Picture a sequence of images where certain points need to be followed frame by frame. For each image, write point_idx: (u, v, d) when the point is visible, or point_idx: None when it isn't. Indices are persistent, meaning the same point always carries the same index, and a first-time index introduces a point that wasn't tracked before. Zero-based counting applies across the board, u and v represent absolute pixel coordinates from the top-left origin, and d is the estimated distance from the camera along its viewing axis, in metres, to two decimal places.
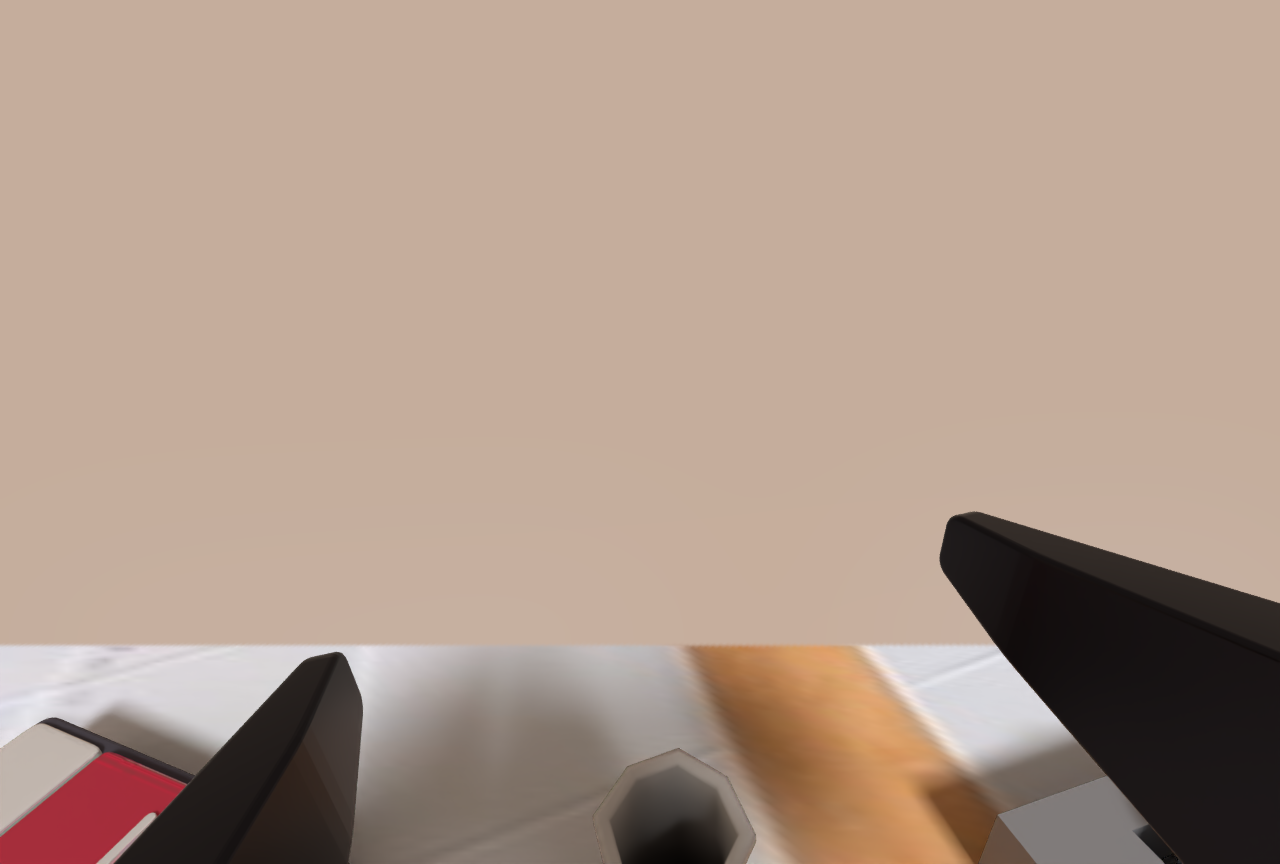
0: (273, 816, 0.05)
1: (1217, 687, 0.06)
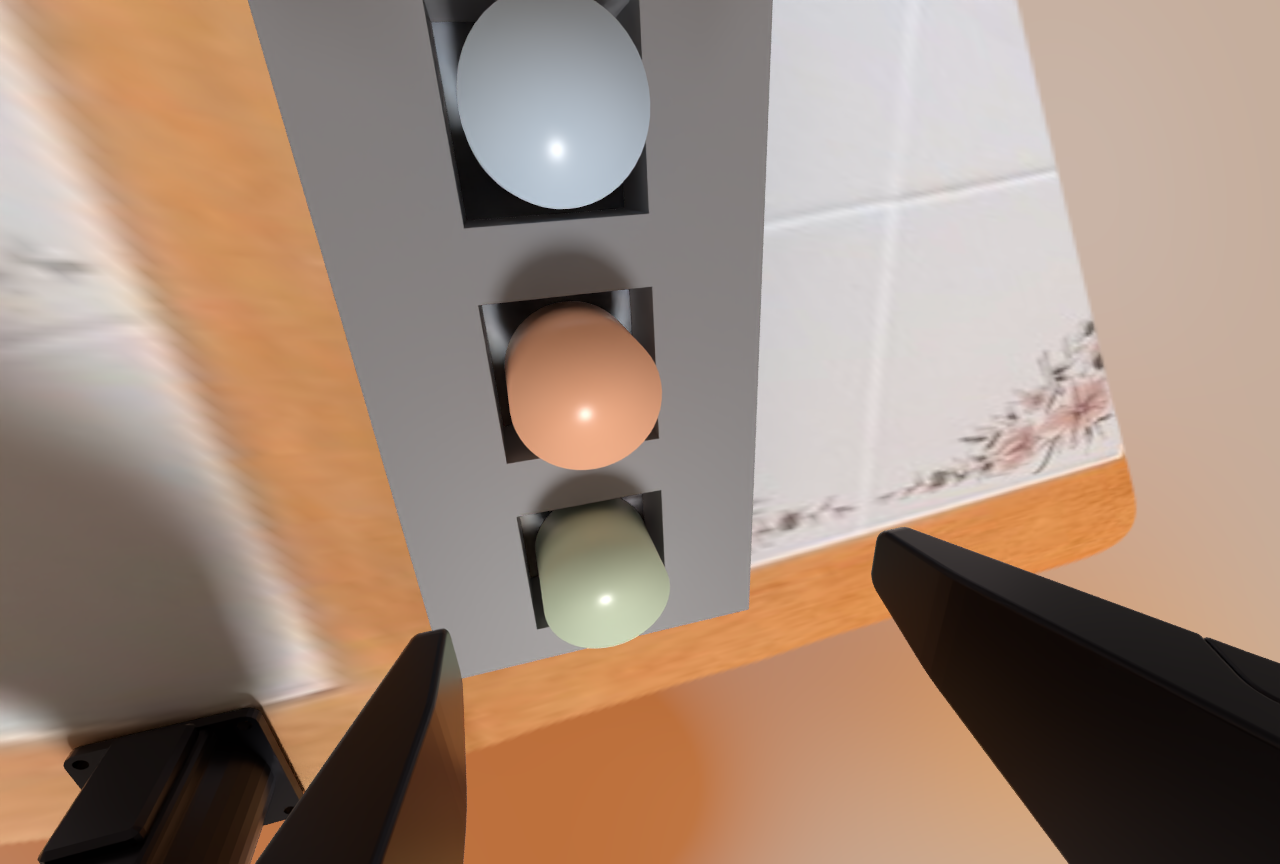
0: (422, 777, 0.05)
1: (1120, 719, 0.05)
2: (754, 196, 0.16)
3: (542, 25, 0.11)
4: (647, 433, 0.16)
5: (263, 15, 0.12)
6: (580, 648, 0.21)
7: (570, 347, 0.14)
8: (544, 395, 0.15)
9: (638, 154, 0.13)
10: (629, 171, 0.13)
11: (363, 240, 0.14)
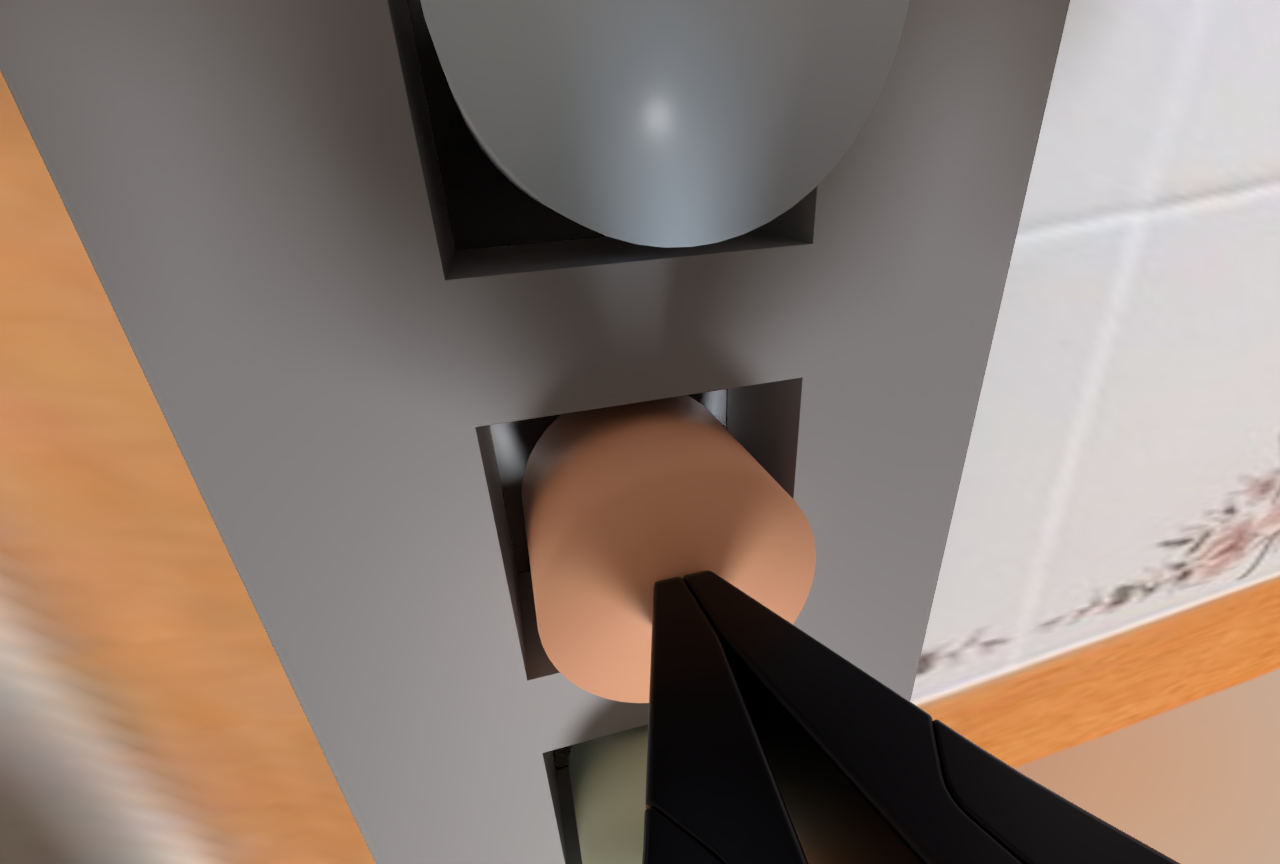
0: (735, 691, 0.06)
1: (833, 814, 0.05)
2: (1004, 208, 0.08)
3: None
4: None
5: None
6: None
7: (657, 509, 0.07)
8: (605, 594, 0.08)
9: (864, 114, 0.05)
10: (834, 156, 0.06)
11: (223, 310, 0.06)
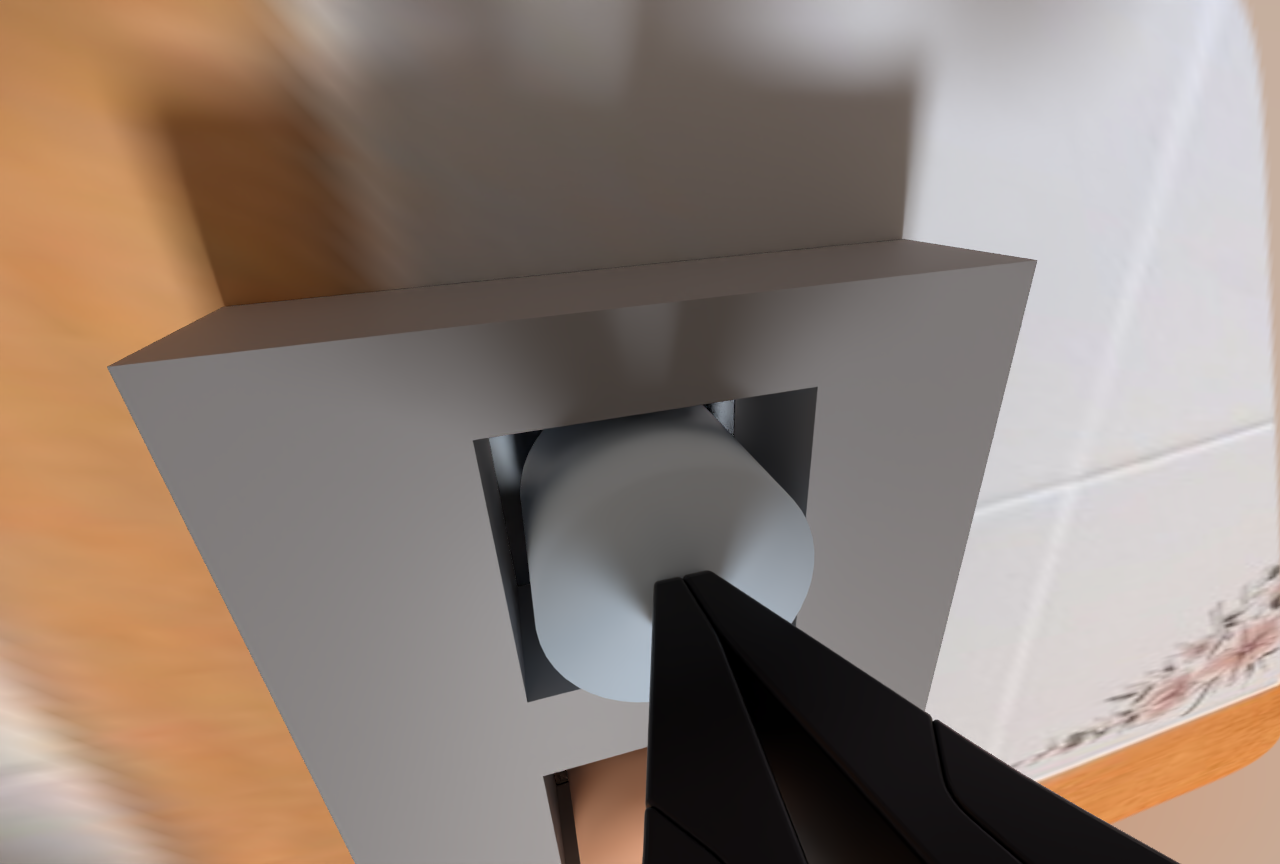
0: (735, 691, 0.06)
1: (833, 814, 0.05)
2: (941, 588, 0.11)
3: (670, 515, 0.07)
4: None
5: (203, 516, 0.07)
6: None
7: None
8: (627, 845, 0.11)
9: None
10: None
11: (374, 745, 0.09)
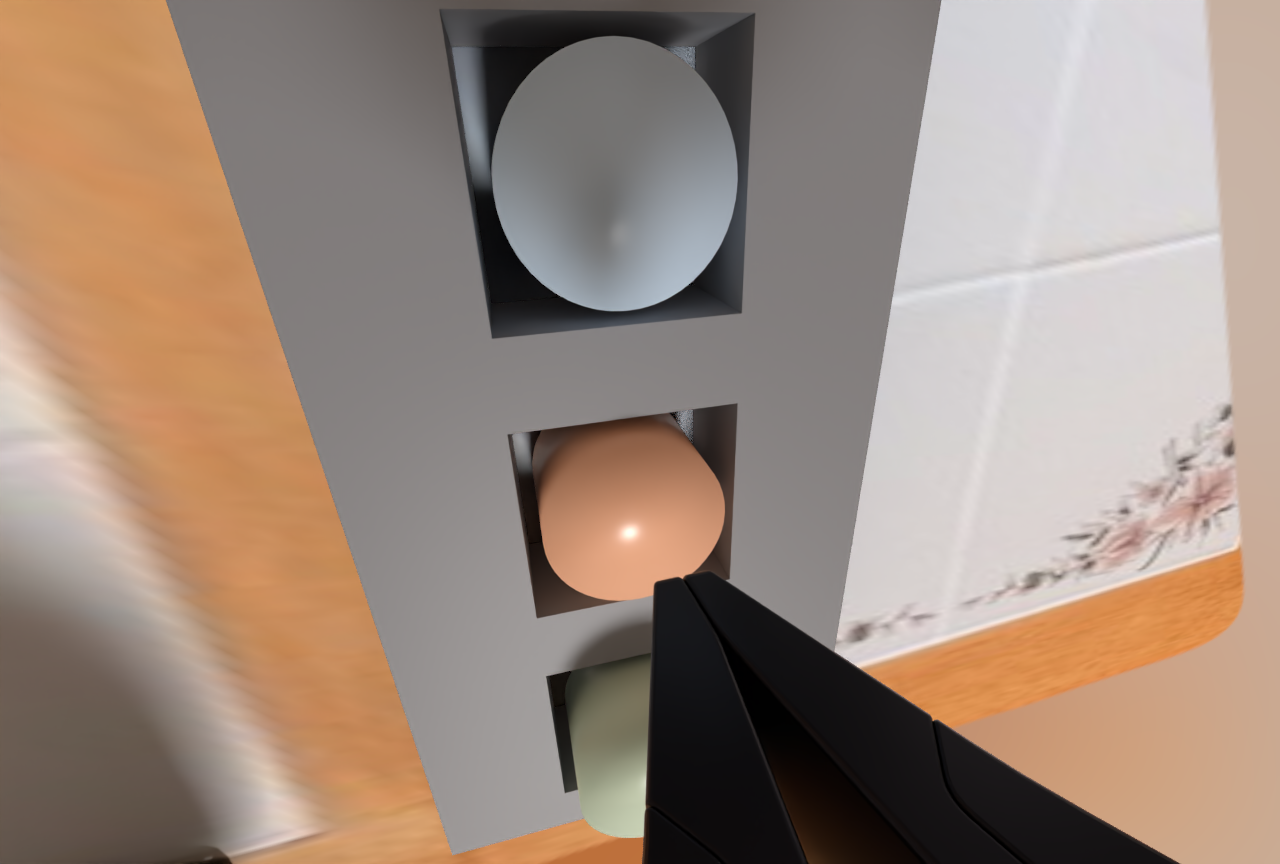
0: (735, 693, 0.06)
1: (833, 814, 0.05)
2: (880, 288, 0.12)
3: (608, 88, 0.09)
4: (703, 556, 0.13)
5: (199, 47, 0.08)
6: None
7: (619, 468, 0.12)
8: (585, 522, 0.12)
9: (717, 244, 0.10)
10: (704, 264, 0.10)
11: (350, 358, 0.10)
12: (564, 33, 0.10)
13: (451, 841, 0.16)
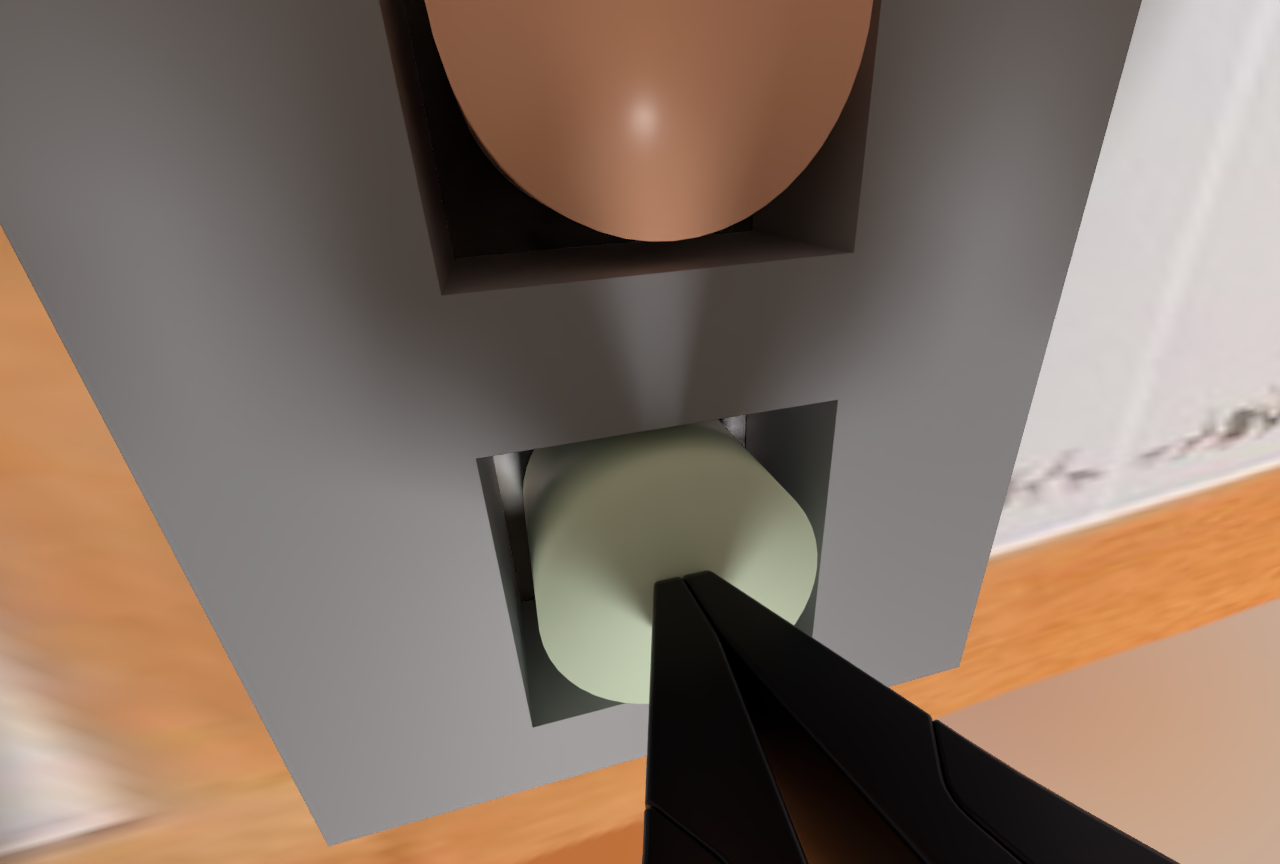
0: (734, 691, 0.06)
1: (833, 814, 0.05)
2: None
3: None
4: (812, 149, 0.06)
5: None
6: (626, 758, 0.10)
7: None
8: None
9: None
10: None
11: None
12: None
13: (321, 820, 0.09)
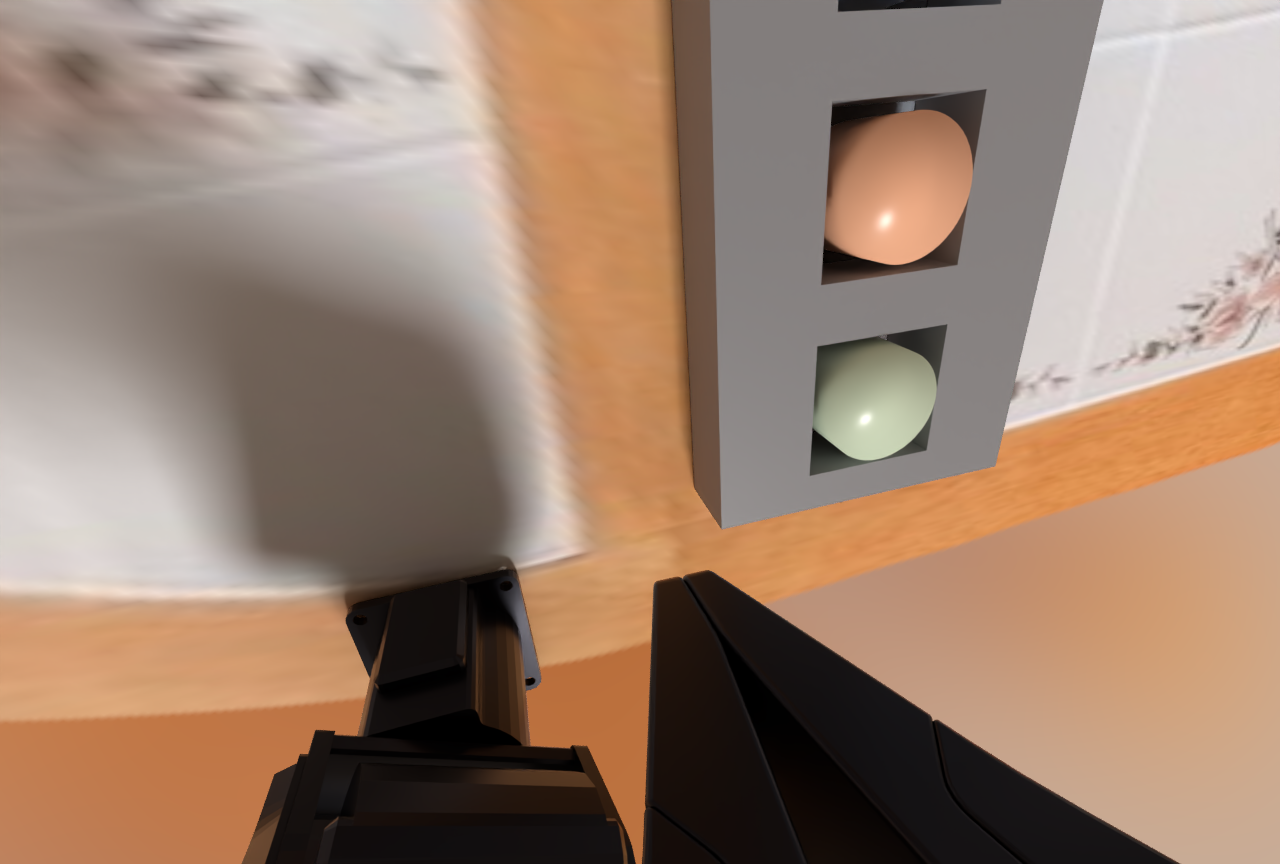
0: (735, 692, 0.06)
1: (833, 814, 0.05)
2: None
3: None
4: (947, 231, 0.17)
5: None
6: (842, 500, 0.21)
7: (908, 131, 0.16)
8: (878, 181, 0.16)
9: None
10: None
11: (748, 20, 0.14)
12: None
13: (723, 513, 0.20)
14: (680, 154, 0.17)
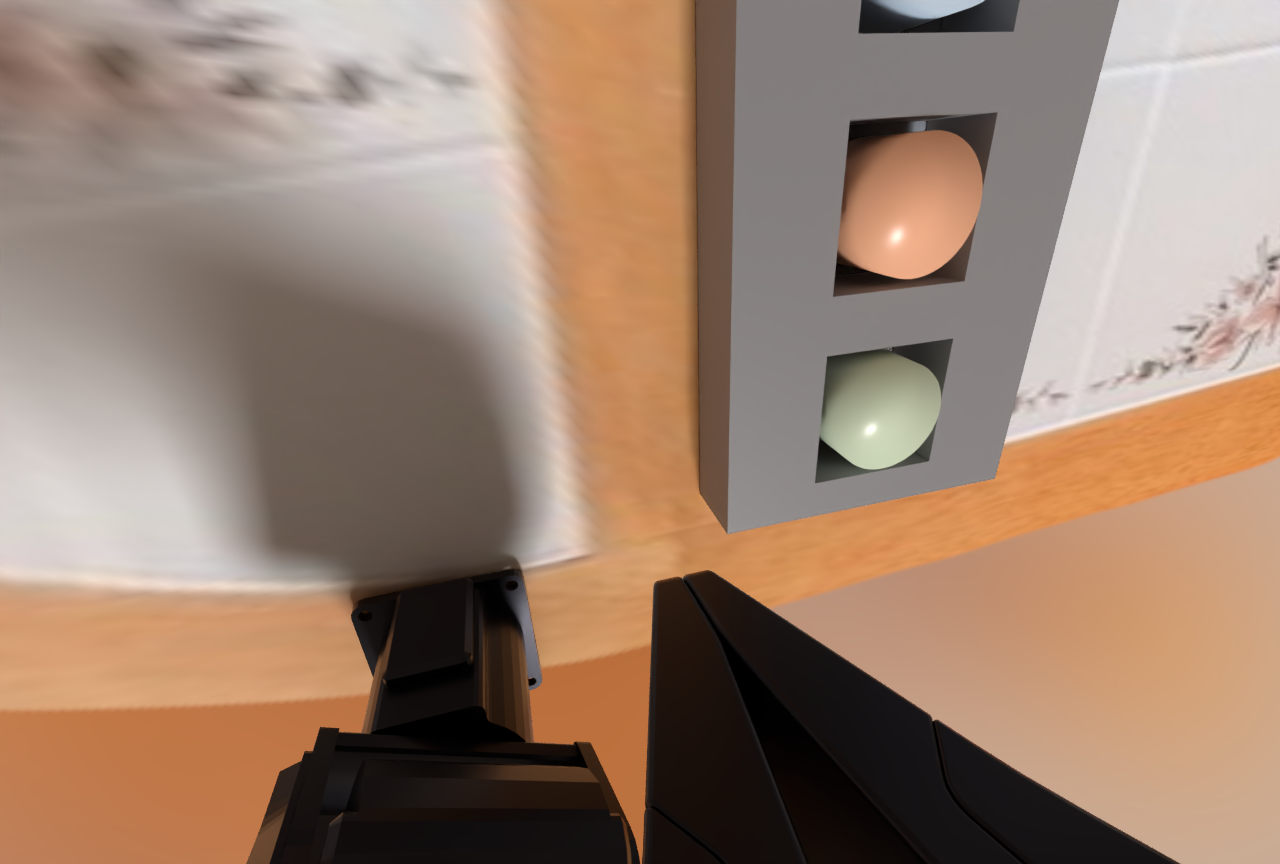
0: (735, 692, 0.06)
1: (834, 814, 0.05)
2: (1104, 20, 0.16)
3: None
4: (956, 248, 0.18)
5: None
6: (845, 508, 0.22)
7: (922, 150, 0.16)
8: (892, 197, 0.16)
9: None
10: None
11: (772, 38, 0.14)
12: None
13: (730, 518, 0.21)
14: (698, 165, 0.18)
